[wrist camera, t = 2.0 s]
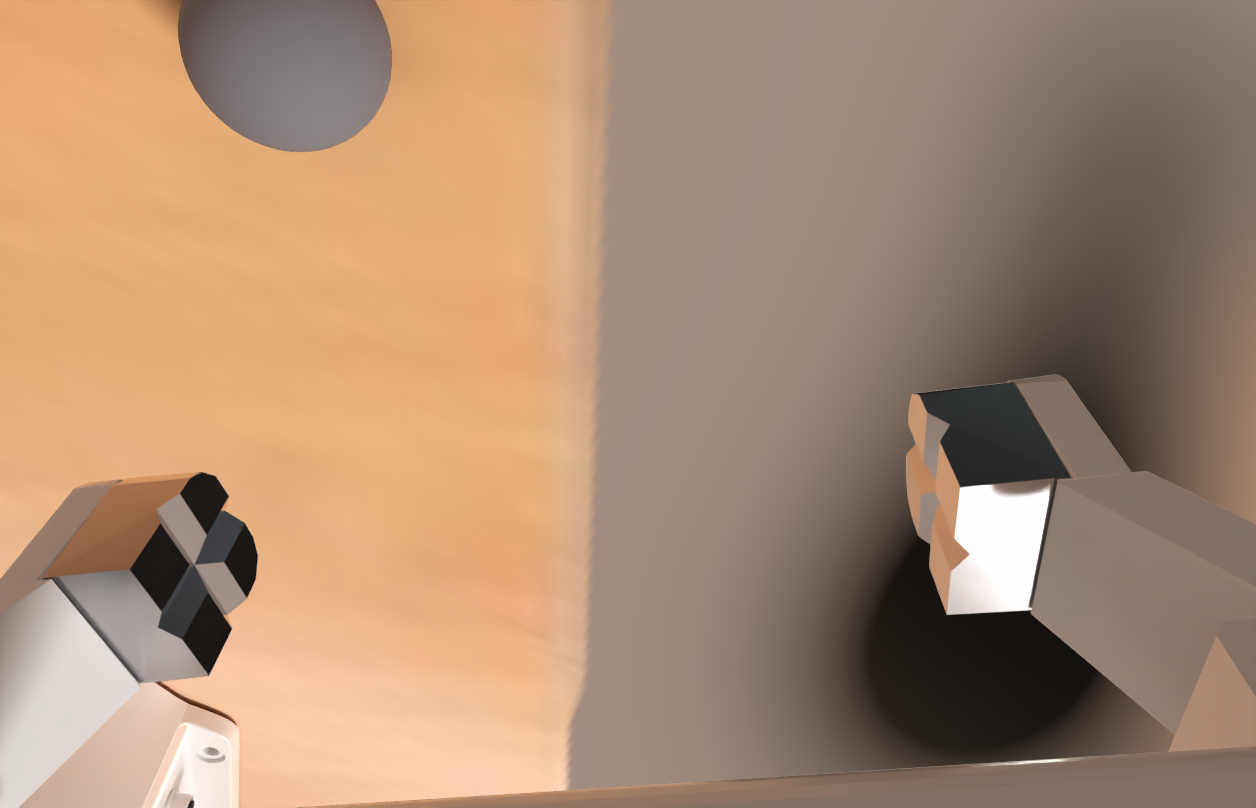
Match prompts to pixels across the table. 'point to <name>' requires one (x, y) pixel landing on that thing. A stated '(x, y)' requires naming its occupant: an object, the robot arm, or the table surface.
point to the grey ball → (288, 67)
